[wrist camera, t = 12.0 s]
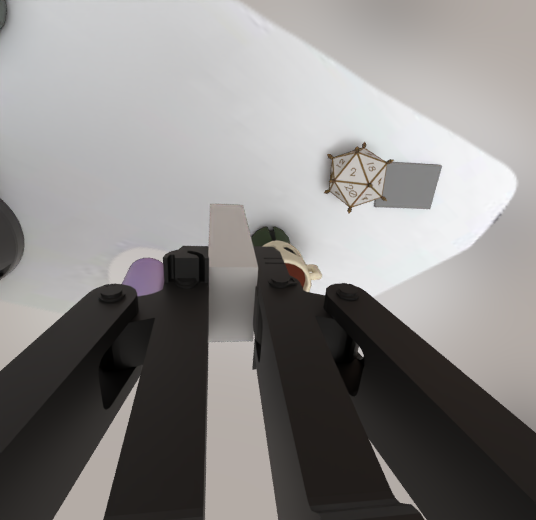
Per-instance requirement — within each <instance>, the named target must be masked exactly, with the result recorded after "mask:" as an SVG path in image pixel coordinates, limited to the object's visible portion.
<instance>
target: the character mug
mask: <svg viewBox="0 0 536 520" xmlns="http://www.w3.org/2000/svg"><path fill="white" fill-rule="evenodd" d="M273 228H274V231H269V230H268V228H267V227H264V228H262V229H260V230H258V231H256V233H255V234H254V235H253V236H252V237H251V240H252V244H253V246H264V247H274V248H276V249H277V250H278V251H280V253H281V255H282V258H283V260H284V263H285V265H286V268H287V270H288V273H289V275H290V276H292V277H294V278H296V279H298V281H299V282H300V283H301V285H302V288H303V290H304V291H306V292H309V291H310V288H311V280H319V279H321V277H322V274H321V272H320V270H319V269H318V267H317V266H316V265H313V264H311V265H306V264H305V262H304V260H303V258H302V256H301V254H300V252H299V251H298V250H297V249H296V248H295V247H293V246H292V245H290V241H289V237H288V236H287V235H286V234H285V232H284V231H283V230H281V229H279V228H277V227H273ZM309 272H312V273H309Z"/></svg>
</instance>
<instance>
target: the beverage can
mask: <svg viewBox="0 0 536 520" xmlns="http://www.w3.org/2000/svg"><path fill="white" fill-rule="evenodd" d="M122 284H124V285H128V286H131V287H133V288H134V289H136V292H137V296H143V295H148V294H152V293H155V292H158V291H160V290H162V289H163V285H164V269H163V263H162V262H160V261H159V260H156V259H153V258H142V259H139V260H137V261H135V262H134V263H133V264H132V265H131V266H130V268H129V270H128V272H127V274H126V276H125V278H124V281H123V282H122Z"/></svg>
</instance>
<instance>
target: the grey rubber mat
mask: <svg viewBox="0 0 536 520" xmlns="http://www.w3.org/2000/svg"><path fill="white" fill-rule="evenodd" d="M441 168H442V166H441V165H433V164H416V163H399V162H392V163H390V164H387V170H386V176H385V182H384V189H383V195H382V196H385V198H386V199H387V201H383V200H382V199H381V198H379V199H376V200H375V201H374V206H375V207H389V208H416V209H430V208H431V204H432V200H433V197H434V193H435V190H436V186H437V182H438V179H439V175H440V171H441Z"/></svg>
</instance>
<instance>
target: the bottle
mask: <svg viewBox="0 0 536 520" xmlns="http://www.w3.org/2000/svg"><path fill="white" fill-rule="evenodd" d="M6 11H7V8H6V2H5V0H0V30H1V28H2V26H3V24H4V23H5V18H6Z"/></svg>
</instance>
